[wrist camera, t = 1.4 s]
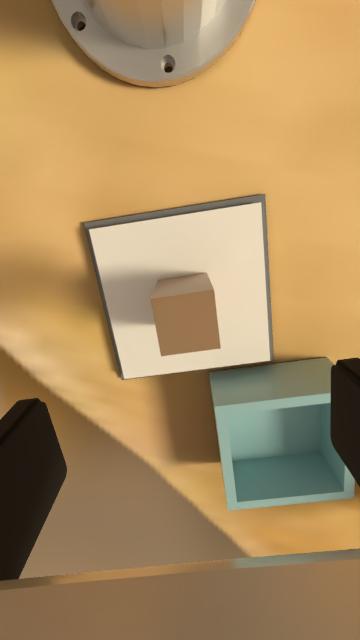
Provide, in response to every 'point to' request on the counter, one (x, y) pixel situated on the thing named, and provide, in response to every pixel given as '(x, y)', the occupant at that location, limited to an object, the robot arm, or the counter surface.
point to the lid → (186, 290)
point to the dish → (277, 435)
